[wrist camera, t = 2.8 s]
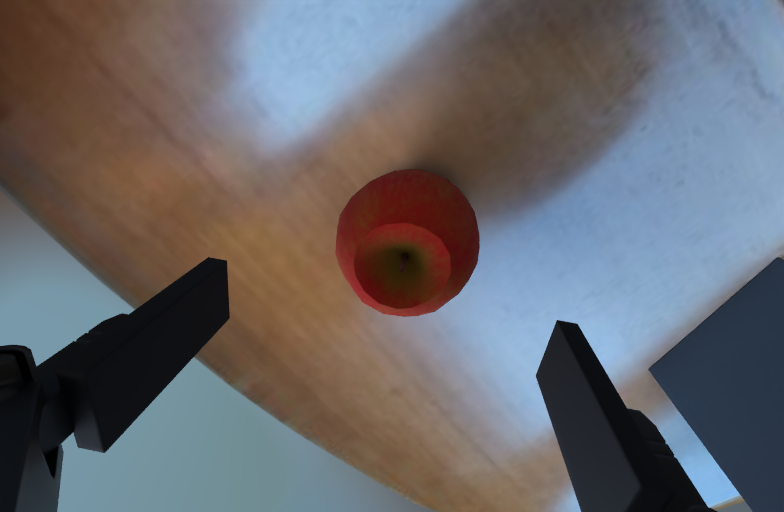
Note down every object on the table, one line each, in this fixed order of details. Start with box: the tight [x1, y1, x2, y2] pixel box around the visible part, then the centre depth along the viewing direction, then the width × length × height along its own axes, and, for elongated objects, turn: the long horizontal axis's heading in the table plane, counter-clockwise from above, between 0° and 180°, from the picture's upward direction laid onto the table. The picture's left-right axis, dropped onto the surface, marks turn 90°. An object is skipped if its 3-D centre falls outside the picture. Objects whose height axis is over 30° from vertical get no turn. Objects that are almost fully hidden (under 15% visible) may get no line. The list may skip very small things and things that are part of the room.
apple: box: [336, 169, 479, 316], centre depth 23 cm, size 9×8×11 cm
